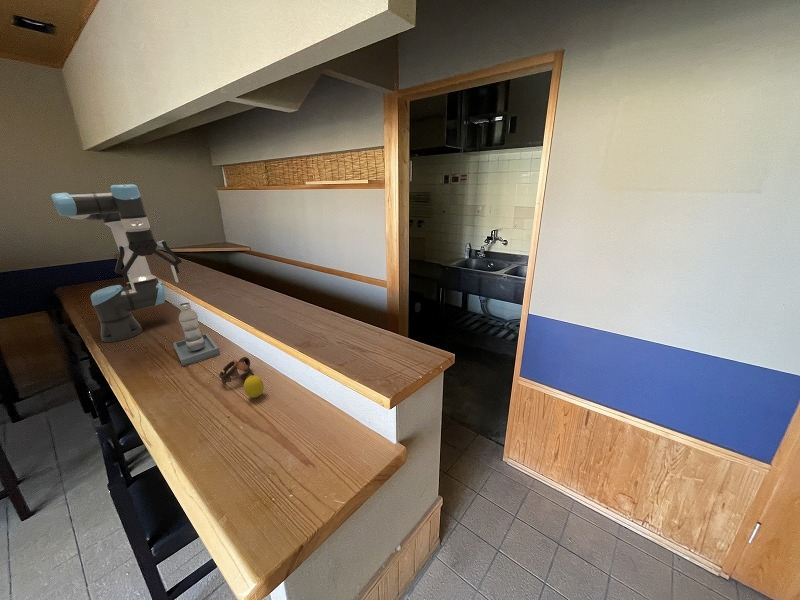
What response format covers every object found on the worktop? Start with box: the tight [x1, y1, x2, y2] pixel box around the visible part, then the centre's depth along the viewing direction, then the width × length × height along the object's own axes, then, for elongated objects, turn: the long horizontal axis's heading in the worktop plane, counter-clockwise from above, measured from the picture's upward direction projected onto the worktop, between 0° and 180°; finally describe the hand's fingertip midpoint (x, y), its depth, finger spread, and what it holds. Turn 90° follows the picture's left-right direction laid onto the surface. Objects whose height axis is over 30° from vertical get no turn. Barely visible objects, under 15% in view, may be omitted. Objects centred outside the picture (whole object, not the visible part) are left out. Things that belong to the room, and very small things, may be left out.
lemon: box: [243, 375, 265, 398], centre depth 100 cm, size 6×6×8 cm
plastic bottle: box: [178, 302, 205, 351], centre depth 129 cm, size 6×7×20 cm
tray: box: [172, 332, 221, 368], centre depth 132 cm, size 20×13×3 cm, turn 42°
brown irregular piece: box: [218, 356, 255, 384], centre depth 112 cm, size 12×10×8 cm
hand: (156, 285), depth 123 cm, fingers open, 13 cm apart
